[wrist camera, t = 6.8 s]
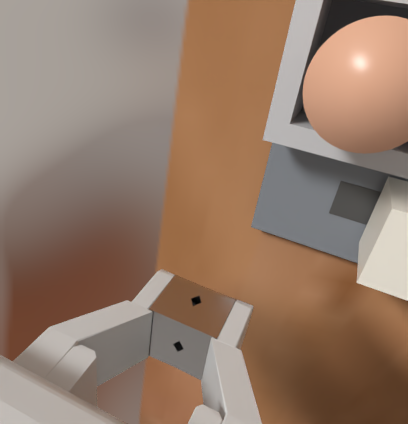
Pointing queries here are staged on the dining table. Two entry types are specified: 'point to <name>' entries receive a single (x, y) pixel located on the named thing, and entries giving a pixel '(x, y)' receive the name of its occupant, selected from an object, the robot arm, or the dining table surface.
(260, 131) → the dining table surface
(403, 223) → the slider knob
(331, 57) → the terracotta button
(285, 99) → the panel
